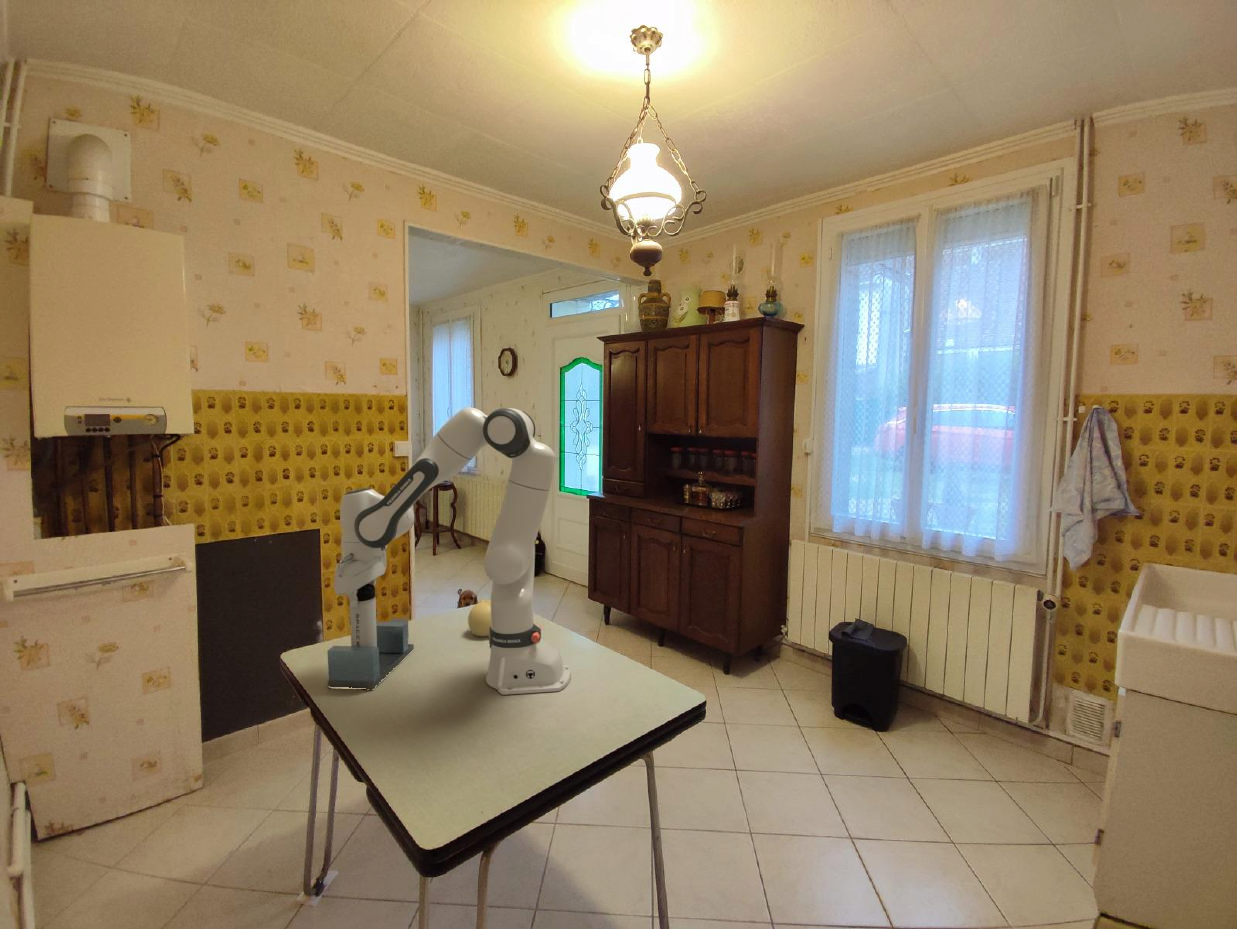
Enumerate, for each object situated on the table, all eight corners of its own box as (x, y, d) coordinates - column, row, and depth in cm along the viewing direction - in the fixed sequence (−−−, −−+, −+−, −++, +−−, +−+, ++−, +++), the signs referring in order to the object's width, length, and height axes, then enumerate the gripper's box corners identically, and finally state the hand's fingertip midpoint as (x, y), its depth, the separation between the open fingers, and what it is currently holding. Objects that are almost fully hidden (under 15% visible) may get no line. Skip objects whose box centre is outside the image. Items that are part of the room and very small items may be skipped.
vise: (374, 649, 167) (373, 617, 166) (413, 650, 166) (412, 618, 166) (328, 689, 143) (326, 651, 142) (373, 690, 143) (371, 652, 142)
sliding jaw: (381, 636, 171) (380, 612, 171) (419, 637, 171) (418, 612, 170) (363, 651, 161) (361, 625, 160) (403, 653, 160) (402, 626, 159)
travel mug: (369, 650, 155) (367, 580, 153) (381, 657, 150) (379, 585, 149) (346, 658, 150) (344, 585, 148) (358, 665, 146) (356, 590, 144)
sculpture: (513, 630, 182) (513, 598, 181) (487, 643, 172) (486, 609, 171) (488, 623, 188) (487, 592, 187) (461, 635, 178) (460, 602, 177)
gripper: (350, 560, 137) (353, 615, 138) (389, 541, 157) (391, 589, 158) (325, 559, 137) (328, 614, 138) (368, 540, 157) (370, 588, 159)
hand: (362, 600), depth 149 cm, fingers closed on travel mug, 6 cm apart
